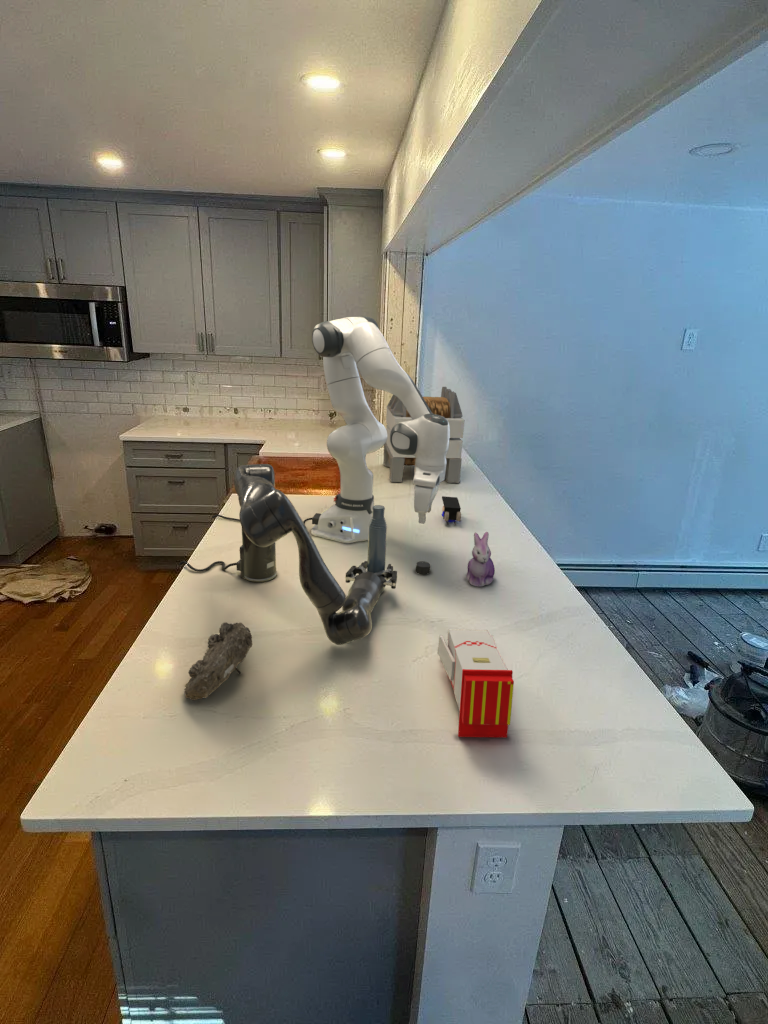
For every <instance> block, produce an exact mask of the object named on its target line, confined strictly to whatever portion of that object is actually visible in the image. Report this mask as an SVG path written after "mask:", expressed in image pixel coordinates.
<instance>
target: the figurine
mask: <svg viewBox="0 0 768 1024" xmlns="http://www.w3.org/2000/svg"><path fill="white" fill-rule="evenodd" d="M489 534H490V533H489V531H485V532H484V533H483V535H482V537H480V536H479V534H478V532H474V533H473V542H474V543H473V545H474V546H473V547H472V551H471V555H472V558H471V559H469V560H468V563H467V568H466V569H467V571H466V580H467V581H468V583H469V584H470V585H471V586H475V587H484V586H489V585H491V583H492V582H493V580H494V576H495V572H496V571H495V570H496V568H495V564H494V561H493V560H492V558H491V556H492V551H491V547H490V546H489V543H488V541H489V536H490V535H489Z"/></svg>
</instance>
